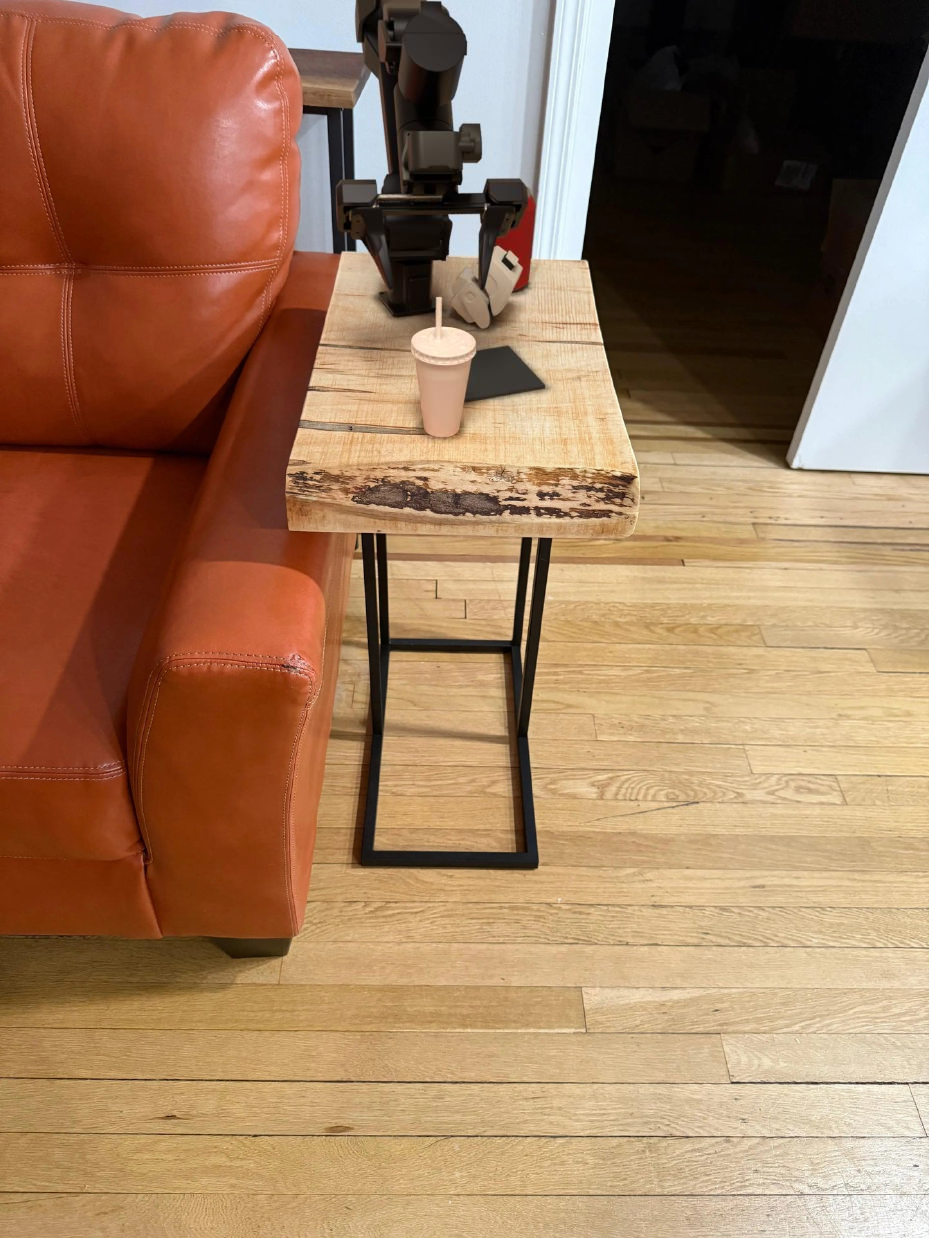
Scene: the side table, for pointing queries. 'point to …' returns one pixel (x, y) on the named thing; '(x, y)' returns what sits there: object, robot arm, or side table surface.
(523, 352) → the side table surface
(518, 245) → the beverage can
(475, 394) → the coaster
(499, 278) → the tape dispenser
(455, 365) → the smoothie
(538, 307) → the side table surface
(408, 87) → the robot arm
